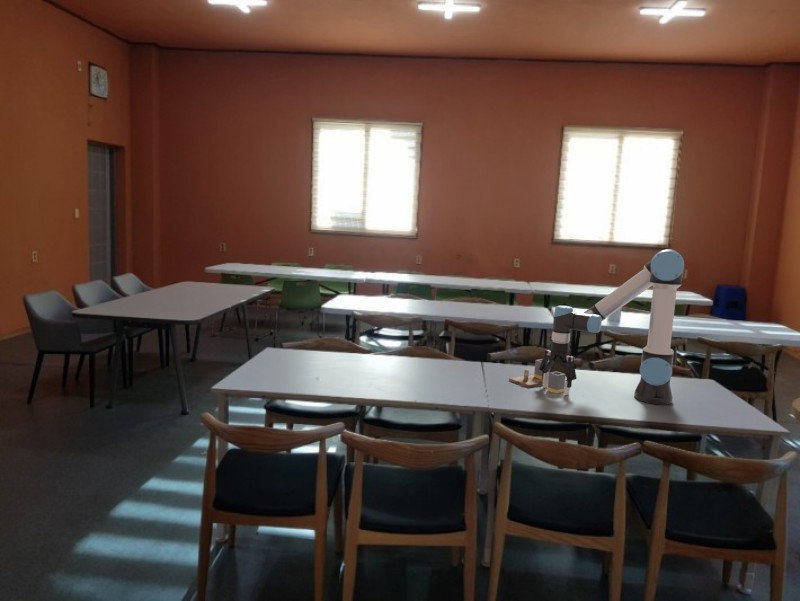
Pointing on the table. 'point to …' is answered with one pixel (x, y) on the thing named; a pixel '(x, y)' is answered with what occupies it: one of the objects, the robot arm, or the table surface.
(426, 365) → the table surface
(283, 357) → the table surface
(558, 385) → the sleeve
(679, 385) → the table surface
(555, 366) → the container
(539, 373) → the sleeve
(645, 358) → the robot arm
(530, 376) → the pin board
